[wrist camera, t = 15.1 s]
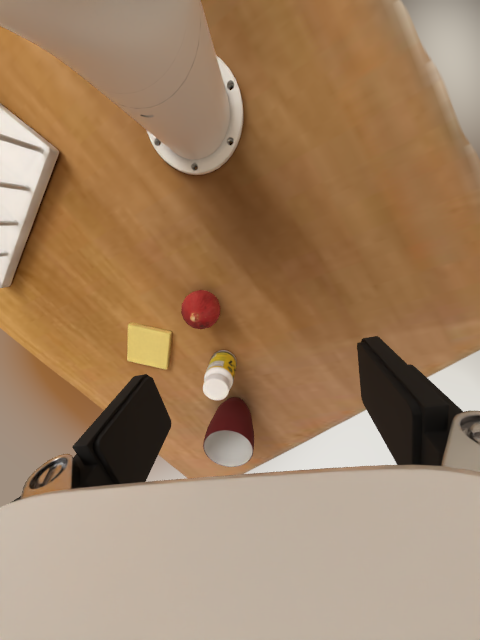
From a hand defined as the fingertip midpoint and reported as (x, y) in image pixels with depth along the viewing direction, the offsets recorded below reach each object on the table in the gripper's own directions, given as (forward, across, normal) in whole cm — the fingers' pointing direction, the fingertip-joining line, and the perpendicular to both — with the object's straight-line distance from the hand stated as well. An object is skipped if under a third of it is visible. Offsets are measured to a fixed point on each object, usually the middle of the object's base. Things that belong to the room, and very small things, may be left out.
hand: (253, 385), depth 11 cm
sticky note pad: (+28, +23, +8) cm, 37 cm away
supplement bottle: (+28, +10, +14) cm, 33 cm away
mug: (+28, +10, +26) cm, 40 cm away
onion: (+28, +10, +3) cm, 30 cm away
